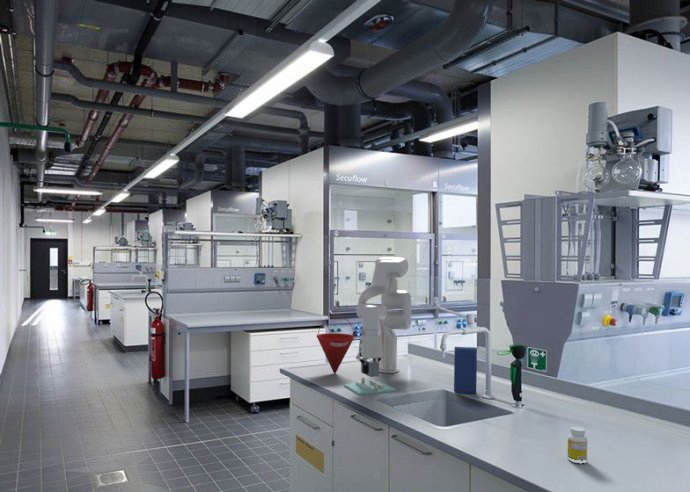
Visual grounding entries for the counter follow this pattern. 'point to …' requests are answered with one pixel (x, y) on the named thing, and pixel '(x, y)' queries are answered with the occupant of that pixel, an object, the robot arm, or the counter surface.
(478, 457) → the counter surface
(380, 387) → the docking tray
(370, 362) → the block
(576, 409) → the counter surface
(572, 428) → the supplement bottle
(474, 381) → the electronic device
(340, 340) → the fire bucket
